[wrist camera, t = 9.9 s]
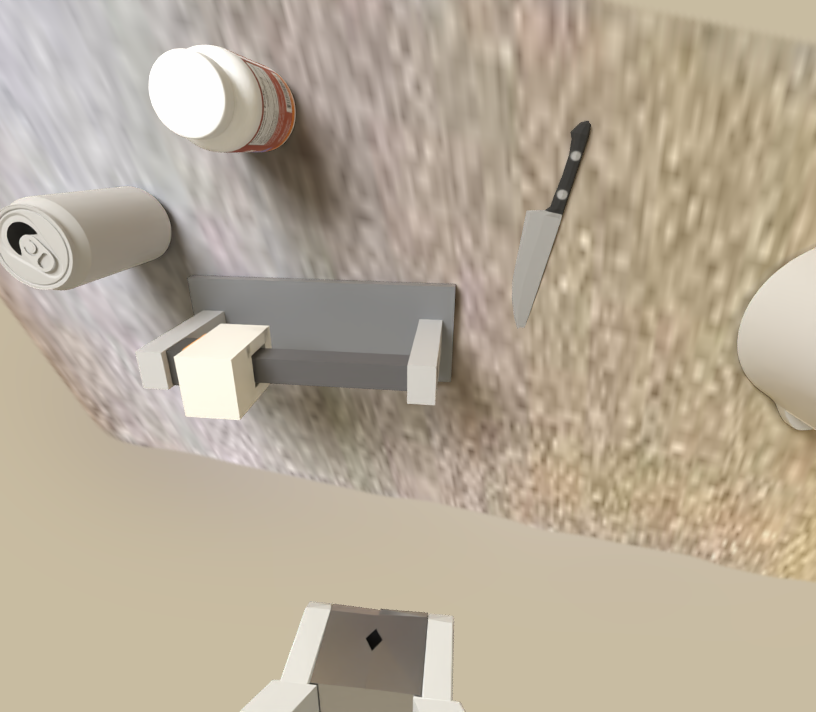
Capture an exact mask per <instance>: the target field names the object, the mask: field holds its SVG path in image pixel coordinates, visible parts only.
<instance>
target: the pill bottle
mask: <svg viewBox="0 0 816 712" xmlns="http://www.w3.org/2000/svg"><path fill="white" fill-rule="evenodd" d="M149 95H150V99H151V102H152V105H153V108H154V110H155V112H156V114H157V115H158V117H159V118H160V120H161V121H162V122H163V123H164V125H165V126H166V127H168V128H169V129H170V130H171V131H172V132H174V133H176V134H178V135H179V136H182V137H185V138H187V139H188V140H190V141H191V142H192V143H194V144H195V145H197V146H199V147H201V148H203V149H206V150H209V151H214V152H224V153H229V152H267V151H271V150H274V149H276V148H278V147H280V146H281V145H282V144H284V143H285V142H286V140H287V139H288V138H289V136H290V135H291V133H292V130H293V128H294V124H295V117H296V109H295V102H294V98H293V95H292V93H291V91H290V89H289V87H288V85H287V84H286V82H285V81H284V80H283V79H282V78H281V77H280V76H279V75H278V74H277V73H276V72H275V71H273V70H271V69H270V68H268V67H266V66H264V65H262V64H259V63H257V62H254V61H252V60H250V59H247V58H245V57H243V56H240V55H238V54H236V53H234V52H231V51H229V50H227V49H224V48H221V47H218V46H213V45H197V46H193V47H190V48H188V49H173V50H170V51H167V52H166V53H164V54H162V55H161V56H160V57H159V58H158V59H157V61H156V62H155V63H154V65H153V67H152V69H151V73H150V77H149Z"/></svg>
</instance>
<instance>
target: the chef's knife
mask: <svg viewBox="0 0 816 712" xmlns="http://www.w3.org/2000/svg"><path fill="white" fill-rule="evenodd" d="M590 127H591V124H590V123H589V121H585V122H581V123H580V124H579V125H578V126H577V127H575V128H574V129H573V130H572V131H571V137H572V141H571V147H570V153H569V157H568V160H567V163H566V166H565V169H564V172H563V176H562V178H561V180H560V183H559V185H558V188H557V190H556V193H555V195H554V198H553V201H552V204H551V206H550V207H549V208H548V209H546V210H532V211H527V212H526V217H525V222H524V227H523V232H522V236H521V241H520V246H519V251H518V256H517V261H516V266H515V271H514V275H513V286H512V303H513V311H514V318H515V322H516V326H517V329H518V328H520V327H525V325H526V322H527V319H528V316H529V313H530V310H531V307H532V305H533V302H534V299H535V296H536V293H537V290H538V287H539V284H540V281H541V278H542V275H543V272H544V269H545V266H546V263H547V260H548V257H549V254H550V251H551V248H552V245H553V242H554V239H555V236H556V233H557V230H558V227H559V224H560V221H561V218H562V215H563V212H564V209H565V206H566V203H567V200H568V197H569V194H570V191H571V188H572V185H573V182H574V179H575V176H576V173H577V170H578V167H579V164H580V161H581V158H582V155H583V152H584V149H585V146H586V143H587V140H588V137H589V132H590Z"/></svg>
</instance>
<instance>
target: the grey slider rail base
mask: <svg viewBox="0 0 816 712" xmlns="http://www.w3.org/2000/svg"><path fill="white" fill-rule="evenodd" d="M187 279H188V285H189V290H190V296H191V302H192V307H193V313H194V316H193V317H191V318H190V319H188V320H186V321H185V322H183V323H181V324H180V325H178V326H176V327H175V328H173V329H171V330H170V331H168V332H166V333H165V334H163V335H161V336H160V337H158V338H156V339H155V340H153V341H152V342H150V343H148V344H147V345H145V346H143V347H142V348H140V349H138V350H137V351H135V354H136V359H137V363H138V367H139V371H140V376H141V380H142V384H143V388H147V389H164V390H169V389H170V388H171V387H173V386H174V385H179V380H178V376H177V371H176V366H175V361H174V356H176V355H177V354H178V353H180V352H181V351H183V350H184V349H186V348H187V347H188V346H190V345H191V344H193V343H194V342H195V341H197V340H198V339H200V338H201V337H203V336H204V335H205V334H207V333H208V332H210V331H211V330H213V329H214V328H215V327H217V326H218V325H220V324H242V325H265V326H269V328H270V337H271V346H272V348H259V349H258V350H257V351H256V352H255V353H254V354H253V355H252V356H251V358H252V365H253V373H254V381H255V382H256V383H274V384H292V385H310V386H328V387H345V388H363V389H381V390H399V391H407V404H422V405H435V402H436V393H437V384H438V381H440V382H451V371H452V349H453V328H454V307H455V285H456V284H439V283H409V282H380V281H350V280H320V279H291V278H261V277H231V276H202V275H192V276H190V277H188V278H187Z"/></svg>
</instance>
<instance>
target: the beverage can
mask: <svg viewBox="0 0 816 712" xmlns="http://www.w3.org/2000/svg"><path fill="white" fill-rule="evenodd" d="M170 240H171V225H170V221H169V218H168V215H167V213H166V211H165V210H164V208H163V207H162V205H161V204H160V203H159V202H158V200H157V199H156V198H154V197H153V196H152V195H151V194H149V193H148V192H146V191H144V190H142V189H139V188H136V187H130V186H123V187H114V188H104V189H95V190H86V191H76V192H67V193H57V194H48V195H38V196H29V197H24V198H20V199H18V200H16V201H14V202H13V203H12V204H11V205H10V206H6V207H4V208H2V209H1V210H0V263H1V264H2V265H3V267H4V268H5V269H6V270H7V271H8V272H9V273H10V274H11V275H12V276H13V277H14V278H16V279H17V280H18V281H20V282H21V283H23V284H25V285H27V286H29V287H32V288H35V289H41V290H50V289H53V290H69V289H72V288H75V287H78V286H81V285H84V284H87V283H89V282H92V281H95V280H98V279H101V278H104V277H106V276H109V275H112V274H115V273H118V272H121V271H123V270H126V269H129V268H132V267H135V266H138V265H140V264H143V263H146V262H149V261H152V260H155V259H157V258H158V257H160V256H161V255H162V254H164V253H165V251H166V250H167V248H168V246H169V244H170Z"/></svg>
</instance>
